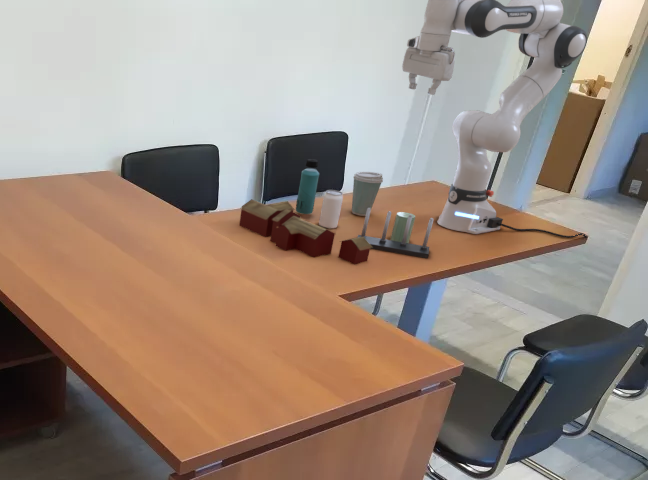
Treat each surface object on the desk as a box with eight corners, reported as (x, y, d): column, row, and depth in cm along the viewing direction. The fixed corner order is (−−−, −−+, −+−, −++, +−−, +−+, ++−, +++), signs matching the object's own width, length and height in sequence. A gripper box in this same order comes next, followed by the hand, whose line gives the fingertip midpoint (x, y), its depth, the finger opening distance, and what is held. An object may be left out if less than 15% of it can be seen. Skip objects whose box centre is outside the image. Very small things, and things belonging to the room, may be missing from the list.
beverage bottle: (314, 215, 259) (325, 160, 248) (308, 219, 254) (318, 163, 243) (298, 211, 261) (307, 156, 251) (291, 215, 256) (300, 160, 246)
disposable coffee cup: (342, 213, 262) (350, 173, 255) (351, 206, 271) (359, 167, 263) (370, 219, 258) (379, 178, 250) (378, 212, 266) (387, 172, 258)
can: (337, 229, 246) (344, 195, 240) (318, 227, 247) (324, 193, 240) (336, 224, 251) (343, 190, 245) (318, 222, 252) (324, 188, 246)
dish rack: (428, 251, 232) (438, 215, 226) (427, 258, 226) (437, 222, 220) (357, 238, 239) (365, 204, 233) (354, 245, 233) (362, 210, 227)
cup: (401, 237, 243) (407, 211, 239) (412, 243, 238) (419, 217, 234) (386, 238, 241) (393, 212, 237) (397, 244, 236) (404, 218, 232)
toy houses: (233, 226, 242) (236, 197, 237) (276, 218, 253) (281, 190, 248) (331, 271, 211) (338, 239, 206) (376, 260, 222) (383, 229, 217)
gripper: (464, 48, 210) (451, 97, 217) (420, 40, 226) (409, 86, 234) (447, 48, 208) (434, 97, 215) (404, 39, 225) (393, 86, 232)
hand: (421, 91), depth 224 cm, fingers open, 8 cm apart
